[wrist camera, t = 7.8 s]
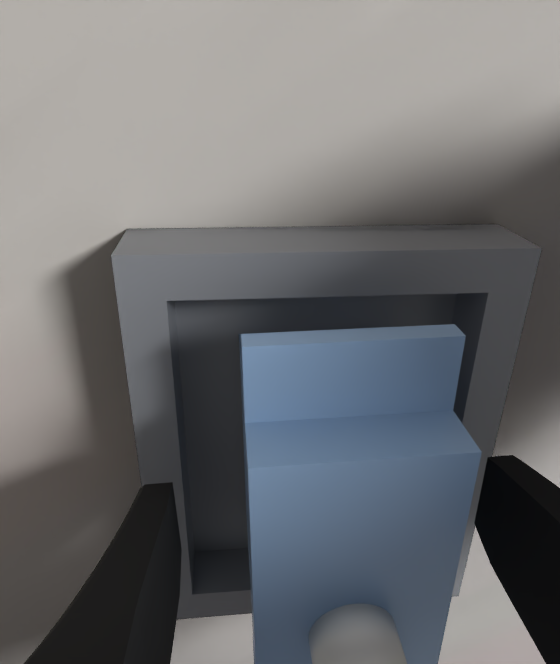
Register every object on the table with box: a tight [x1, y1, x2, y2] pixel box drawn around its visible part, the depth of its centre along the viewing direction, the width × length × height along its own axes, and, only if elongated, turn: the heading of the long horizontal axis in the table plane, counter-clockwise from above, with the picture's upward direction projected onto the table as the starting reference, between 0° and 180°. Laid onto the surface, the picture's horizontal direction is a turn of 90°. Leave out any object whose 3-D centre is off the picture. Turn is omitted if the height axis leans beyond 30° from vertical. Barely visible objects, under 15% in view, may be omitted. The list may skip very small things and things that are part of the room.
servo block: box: [239, 324, 482, 664], centre depth 12 cm, size 4×9×6 cm, turn 0°
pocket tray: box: [111, 224, 542, 619], centre depth 14 cm, size 9×11×2 cm
